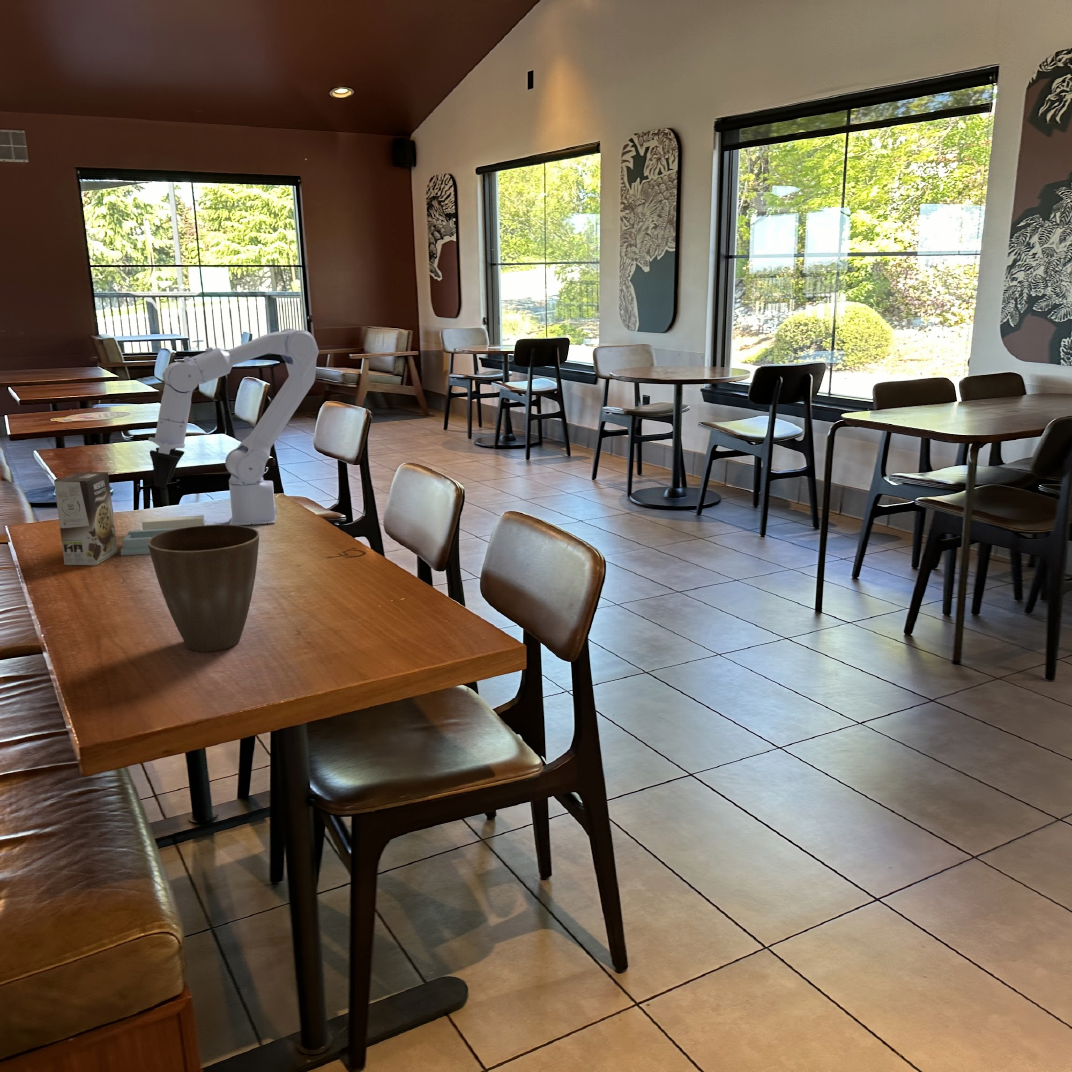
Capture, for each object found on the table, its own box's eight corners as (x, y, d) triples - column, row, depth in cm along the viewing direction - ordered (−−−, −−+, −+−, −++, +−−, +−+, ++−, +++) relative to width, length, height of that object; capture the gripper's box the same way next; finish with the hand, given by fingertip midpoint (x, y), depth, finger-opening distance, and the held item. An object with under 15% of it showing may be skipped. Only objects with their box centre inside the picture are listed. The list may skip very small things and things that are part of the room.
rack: (211, 538, 196) (210, 525, 195) (208, 549, 187) (206, 535, 187) (128, 543, 192) (127, 530, 191) (121, 555, 184) (119, 541, 183)
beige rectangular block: (205, 529, 204) (203, 515, 203) (204, 533, 201) (202, 518, 200) (145, 533, 201) (143, 518, 200) (143, 537, 198) (141, 522, 197)
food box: (97, 565, 177) (86, 480, 173) (63, 565, 177) (51, 480, 173) (119, 552, 186) (109, 471, 182) (86, 552, 186) (76, 471, 182)
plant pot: (230, 618, 149) (220, 518, 145) (288, 639, 140) (280, 534, 136) (139, 645, 138) (127, 539, 134) (196, 670, 129) (185, 557, 125)
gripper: (157, 414, 203) (146, 476, 204) (147, 418, 189) (136, 485, 190) (191, 421, 205) (181, 483, 206) (184, 425, 191) (173, 491, 192)
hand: (161, 484), depth 198 cm, fingers open, 7 cm apart
